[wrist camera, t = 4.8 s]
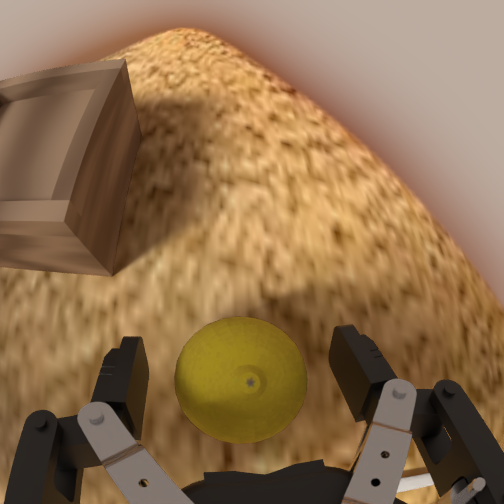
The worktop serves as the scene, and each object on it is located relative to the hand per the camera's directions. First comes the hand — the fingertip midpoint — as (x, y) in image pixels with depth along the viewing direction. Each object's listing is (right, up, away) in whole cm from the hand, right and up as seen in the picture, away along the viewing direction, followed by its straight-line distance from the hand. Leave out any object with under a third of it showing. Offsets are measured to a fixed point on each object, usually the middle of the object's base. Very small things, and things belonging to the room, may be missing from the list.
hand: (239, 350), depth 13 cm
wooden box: (-13, +8, +7) cm, 17 cm away
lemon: (0, -3, +4) cm, 5 cm away
